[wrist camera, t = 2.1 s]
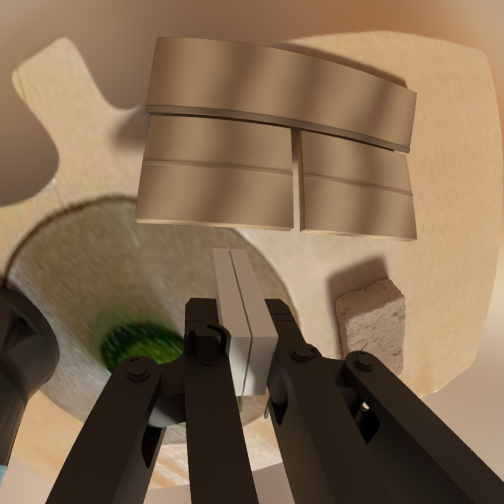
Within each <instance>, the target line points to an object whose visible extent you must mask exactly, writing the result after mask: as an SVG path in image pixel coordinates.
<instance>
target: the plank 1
mask: <svg viewBox="0 0 504 504" xmlns="http://www.w3.org/2000/svg"><path fill="white" fill-rule="evenodd" d="M292 176H293V173H292V148H291V129H289V128H283V127H277V126H270V125H263V124H256V123H248V122H239V121H230V120H220V119H209V118H196V117H179V116H152V115H151V119H150V124H149V129H148V134H147V139H146V145H145V150H144V156H143V161H142V169H141V175H140V182H139V189H138V197H137V205H136V214H135V219H136V221H137V222H138V223H159V224H179V225H198V226H215V227H232V228H247V229H262V230H277V231H290V230H291V229H293V228H294V222H293V177H292Z"/></svg>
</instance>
